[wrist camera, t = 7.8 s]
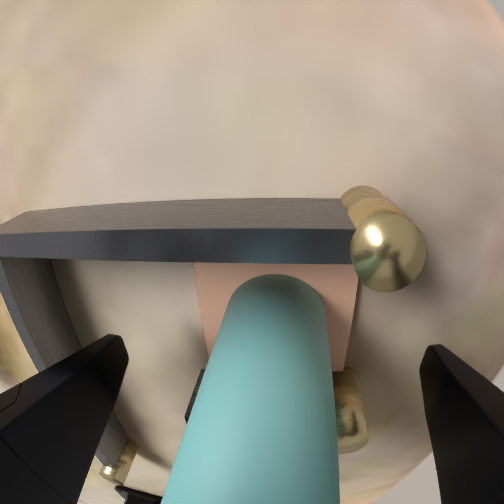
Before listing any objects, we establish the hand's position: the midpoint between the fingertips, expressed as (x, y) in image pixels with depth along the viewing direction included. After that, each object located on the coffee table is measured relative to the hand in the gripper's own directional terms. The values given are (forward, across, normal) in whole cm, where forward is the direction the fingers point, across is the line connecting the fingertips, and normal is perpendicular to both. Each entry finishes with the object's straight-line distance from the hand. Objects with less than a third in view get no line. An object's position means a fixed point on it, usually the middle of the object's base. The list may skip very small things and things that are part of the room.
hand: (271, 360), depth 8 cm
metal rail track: (+2, +4, +4) cm, 6 cm away
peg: (+2, 0, 0) cm, 2 cm away
